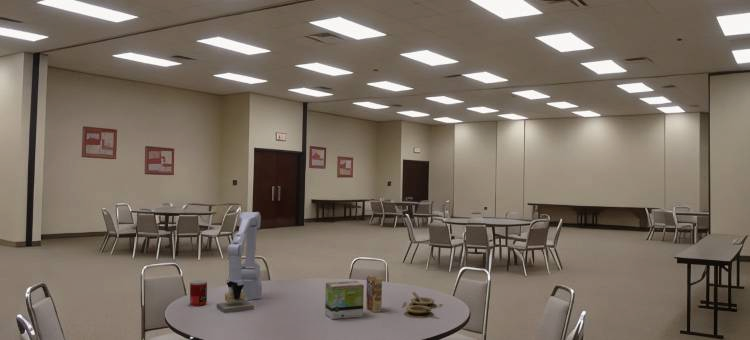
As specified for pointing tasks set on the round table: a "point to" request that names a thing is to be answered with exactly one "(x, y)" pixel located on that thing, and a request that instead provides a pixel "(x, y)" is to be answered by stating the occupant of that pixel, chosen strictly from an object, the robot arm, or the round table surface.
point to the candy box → (374, 294)
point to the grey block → (231, 290)
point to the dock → (235, 306)
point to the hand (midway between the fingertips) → (235, 298)
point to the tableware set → (420, 307)
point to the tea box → (344, 299)
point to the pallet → (230, 297)
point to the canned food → (198, 293)
